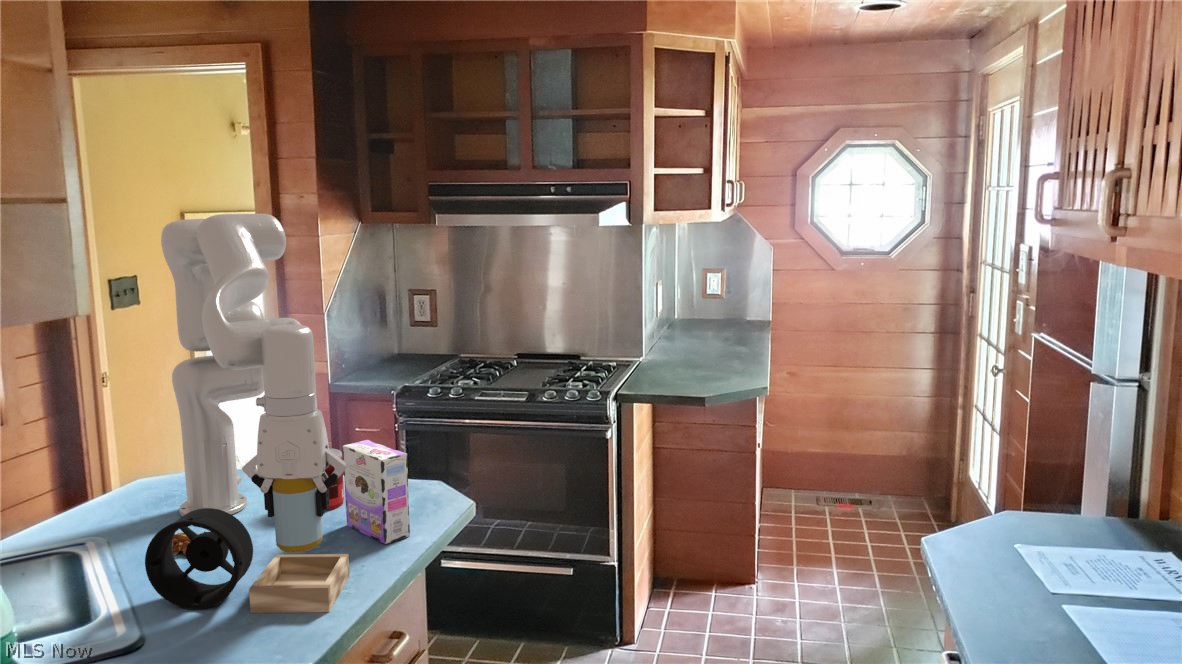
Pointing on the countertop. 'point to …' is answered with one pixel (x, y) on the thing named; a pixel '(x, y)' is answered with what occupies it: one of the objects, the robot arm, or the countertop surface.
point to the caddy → (299, 583)
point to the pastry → (180, 543)
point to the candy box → (376, 491)
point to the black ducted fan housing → (199, 558)
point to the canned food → (335, 485)
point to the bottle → (295, 511)
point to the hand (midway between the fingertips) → (297, 513)
